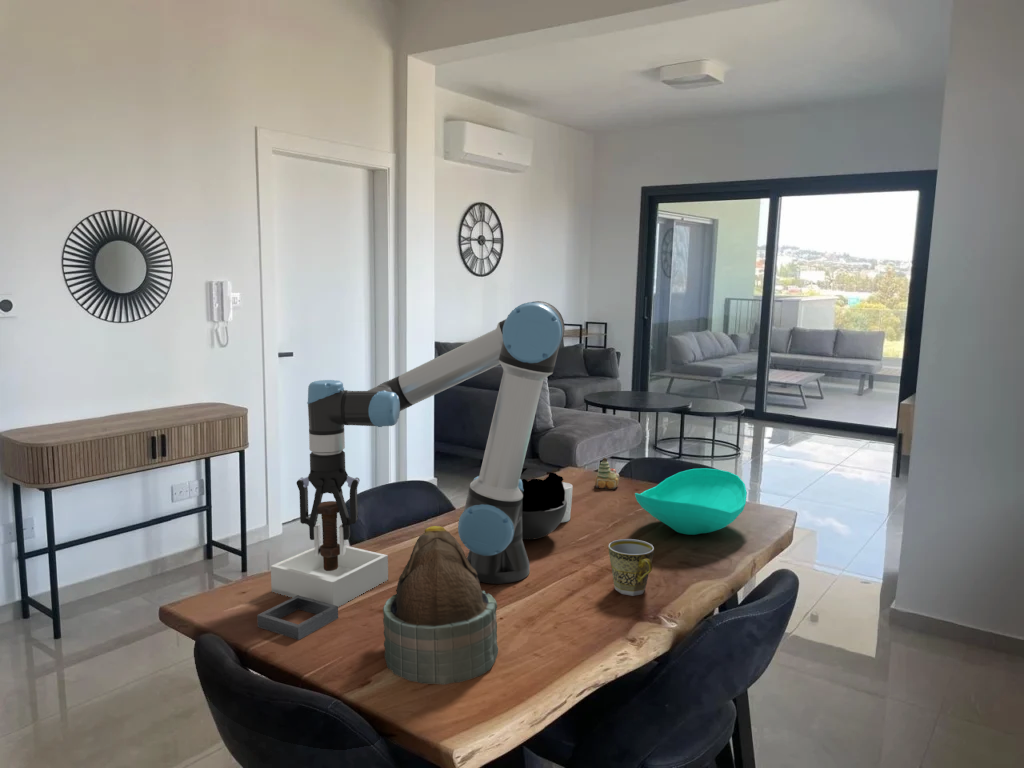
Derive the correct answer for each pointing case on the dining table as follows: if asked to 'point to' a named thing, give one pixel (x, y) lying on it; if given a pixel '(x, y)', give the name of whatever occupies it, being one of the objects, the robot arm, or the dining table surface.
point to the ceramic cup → (630, 565)
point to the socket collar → (298, 631)
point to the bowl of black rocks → (542, 505)
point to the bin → (329, 575)
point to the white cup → (568, 499)
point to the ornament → (606, 476)
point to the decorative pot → (439, 616)
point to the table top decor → (696, 500)
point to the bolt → (329, 534)
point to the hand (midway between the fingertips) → (330, 553)
